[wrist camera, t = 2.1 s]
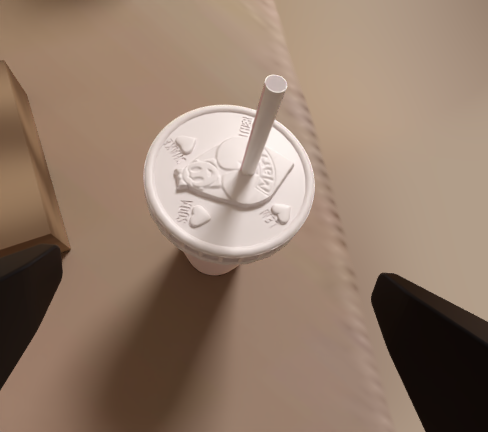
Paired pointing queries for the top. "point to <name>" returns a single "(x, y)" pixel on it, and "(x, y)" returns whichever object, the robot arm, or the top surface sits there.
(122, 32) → the top surface
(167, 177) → the smoothie
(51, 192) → the walnut plinth
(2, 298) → the robot arm
